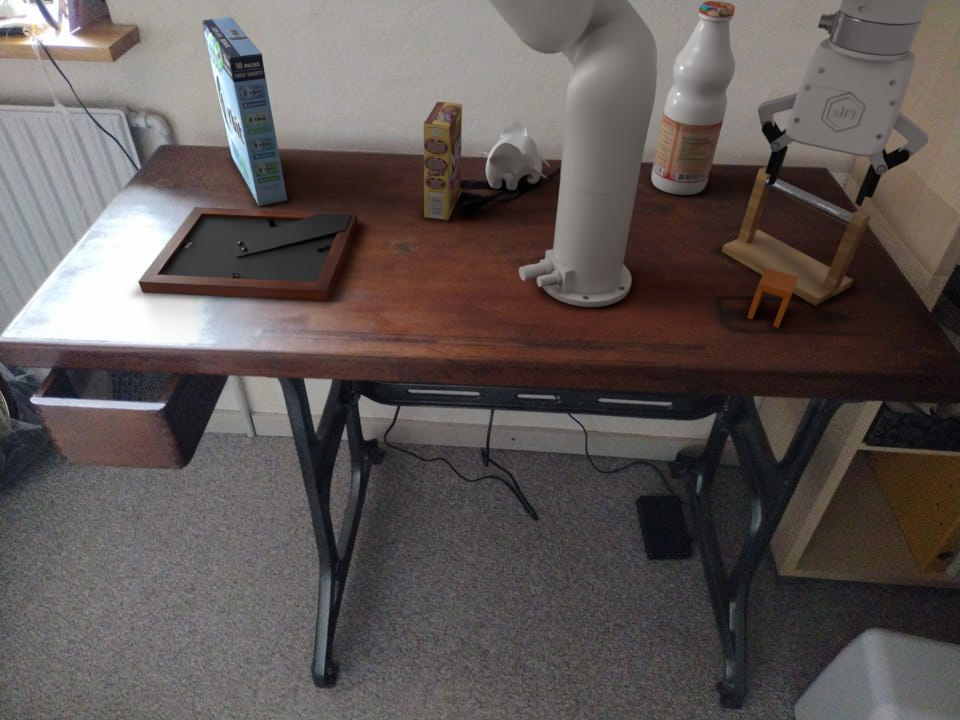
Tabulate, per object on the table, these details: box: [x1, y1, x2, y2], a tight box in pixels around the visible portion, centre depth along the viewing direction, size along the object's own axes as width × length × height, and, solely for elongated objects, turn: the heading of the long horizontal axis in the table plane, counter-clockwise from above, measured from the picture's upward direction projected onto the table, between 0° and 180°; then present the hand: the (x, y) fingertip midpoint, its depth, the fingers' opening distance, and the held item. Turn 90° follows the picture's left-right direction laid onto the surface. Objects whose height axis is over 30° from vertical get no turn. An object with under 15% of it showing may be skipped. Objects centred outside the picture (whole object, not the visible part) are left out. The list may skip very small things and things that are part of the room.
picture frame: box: [138, 206, 359, 302], centre depth 98 cm, size 20×2×25 cm
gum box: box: [201, 16, 288, 207], centre depth 108 cm, size 20×5×23 cm, turn 27°
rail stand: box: [721, 166, 872, 306], centre depth 94 cm, size 8×16×12 cm, turn 34°
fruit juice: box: [650, 0, 736, 196], centre depth 108 cm, size 9×9×28 cm
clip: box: [746, 268, 798, 329], centre depth 88 cm, size 4×4×6 cm
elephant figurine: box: [479, 121, 552, 191], centre depth 113 cm, size 10×12×9 cm
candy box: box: [423, 101, 463, 221], centre depth 105 cm, size 9×4×15 cm, turn 169°
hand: (815, 190), depth 80 cm, fingers open, 9 cm apart
